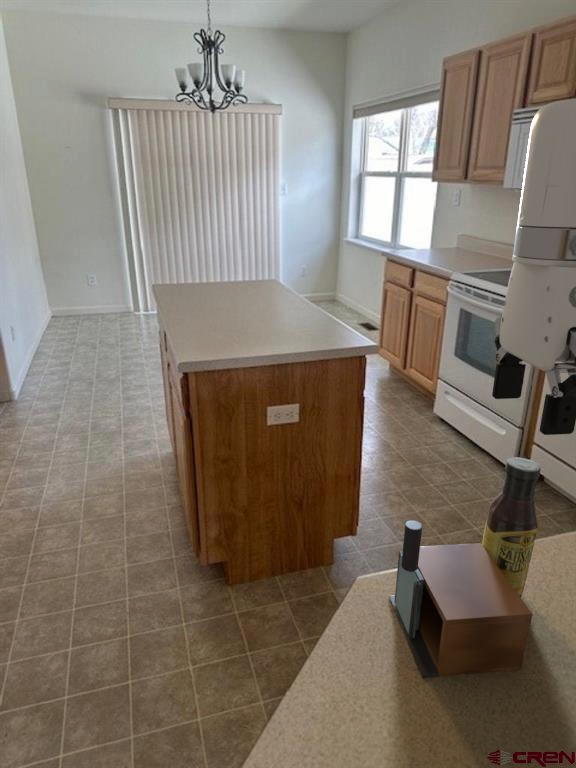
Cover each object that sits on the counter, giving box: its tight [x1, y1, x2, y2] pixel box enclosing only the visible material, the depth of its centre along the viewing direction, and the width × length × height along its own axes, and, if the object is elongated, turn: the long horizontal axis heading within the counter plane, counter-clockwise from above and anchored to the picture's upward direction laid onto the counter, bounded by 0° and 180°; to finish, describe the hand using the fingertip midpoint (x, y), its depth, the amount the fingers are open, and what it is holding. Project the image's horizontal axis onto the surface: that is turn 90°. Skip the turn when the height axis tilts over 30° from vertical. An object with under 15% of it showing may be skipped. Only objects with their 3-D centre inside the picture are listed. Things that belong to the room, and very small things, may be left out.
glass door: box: [394, 520, 423, 639], centre depth 66 cm, size 2×6×14 cm, turn 6°
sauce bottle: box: [481, 457, 541, 598], centre depth 71 cm, size 6×6×20 cm
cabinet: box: [388, 542, 533, 679], centre depth 66 cm, size 12×13×8 cm
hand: (529, 414), depth 56 cm, fingers open, 9 cm apart
